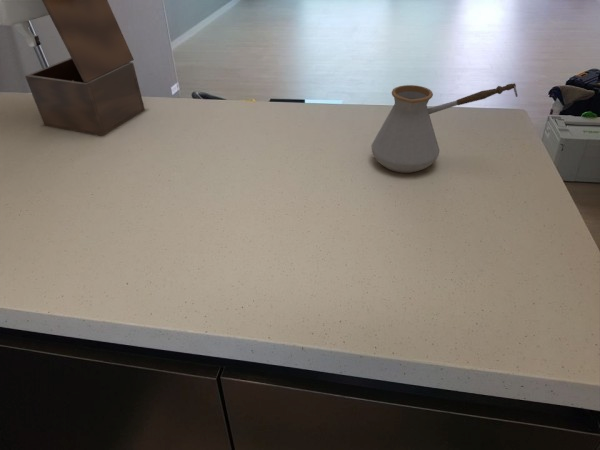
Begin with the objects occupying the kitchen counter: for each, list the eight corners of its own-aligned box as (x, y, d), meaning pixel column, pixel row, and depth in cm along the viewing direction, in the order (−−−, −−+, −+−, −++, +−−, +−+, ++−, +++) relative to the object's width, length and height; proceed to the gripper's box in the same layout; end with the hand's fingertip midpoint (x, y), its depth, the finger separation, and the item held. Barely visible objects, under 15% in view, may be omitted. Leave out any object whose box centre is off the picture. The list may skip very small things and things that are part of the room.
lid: (34, -13, 76) (54, -21, 74) (92, -27, 86) (111, -34, 84) (84, 82, 85) (103, 78, 82) (131, 60, 95) (149, 56, 92)
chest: (44, 126, 96) (24, 75, 90) (90, 102, 106) (75, 55, 100) (102, 137, 91) (86, 84, 85) (145, 111, 101) (133, 62, 95)
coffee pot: (367, 177, 77) (373, 90, 68) (373, 145, 86) (379, 65, 76) (501, 188, 73) (527, 98, 64) (492, 154, 82) (514, 71, 73)
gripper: (59, -50, 89) (80, 25, 97) (-38, -35, 74) (-2, 52, 82) (84, -49, 87) (104, 27, 95) (-10, -34, 72) (23, 55, 80)
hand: (54, 39), depth 89 cm, fingers open, 8 cm apart
